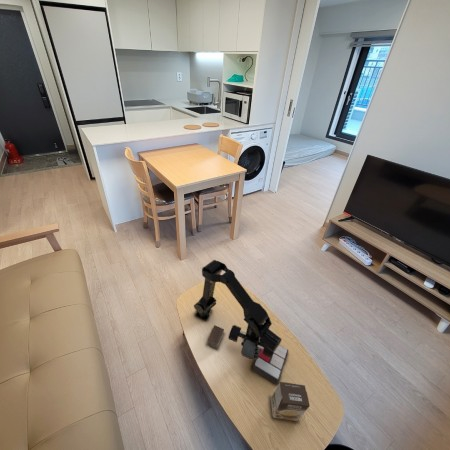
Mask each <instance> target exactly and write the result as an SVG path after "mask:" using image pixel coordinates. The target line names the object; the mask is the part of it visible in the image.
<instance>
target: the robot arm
mask: <svg viewBox="0 0 450 450" xmlns="http://www.w3.org/2000/svg"><path fill="white" fill-rule="evenodd" d="M222 271H223V272H224V273H223V274H222ZM201 276H202V277H203V278H204V283H203V290H202V296H201V297H200V299H199V300H198V301H197V302H196V303H194V305H193V308H194V310H195V311H196V313H195V317H197V318H199V319H201V320H203V321H208V319H209V318H210V316H211V314H212V308H214V307H215V306H216V305H217V302H218V301H217V299H216V298H215V297H214V293H215V288H216V287H215V286H216V283H221V284H223V285H225V286H226V288H227V289H228V290H229V292H230V293H231V294H232V296H233V297H234V299H235V300H236V302H237V303H238V304H239V305H240V307H241V308H242V311H243V316H244V318H243V321H244V322H245V323H247V327H246V331H245V332H244V331H242V327H241V326H238V325H236V324H233V325H231V329H230V331H229V332H228V333H229V334H228V340H230V341H232V342H233V343H237V342H238V339H239V338H241V343H240V344H241V346H242V348H241V351H240V353H241V356H242V357H245V358H247V359H248V360H254V361H255V360H256V359H258V357H259V354H260V351H259V350H260V348H261V349H264V350H263V354H264V355H265V356H268V357H270V358H271V357H272V356H273V353H274V351H275V350H276V349H277V347H278V346H279V345H280V344H281V342H282V338H281V337H280V336H278V335H277V334H276V333H275V332H274V331H272V330H271V329H270V327H271V326H272V325H273V323H272V321H271V318H270V316H269V314H268V312H267V310H266V309H265V308H264V307H263V306H262V305H261V304H260V303H258V302H256V301H254V299H252V297H251V296H250V294H249V293H248V292H247V291H246V289H245V288H244V286H243V285H242V284H241V282H240V281H239V280H238V279H237V277H236V274H235V272H234V271H233V270H231V269H229V268H228V266H227V264H225V263H223V262H221V261H219V260H216V259H213V260H211V261H210V262H208V263H207V264H206V265H204V266H203V267H202V268H201Z"/></svg>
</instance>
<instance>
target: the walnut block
mask: <svg viewBox="0 0 450 450" xmlns="http://www.w3.org/2000/svg"><path fill="white" fill-rule="evenodd" d="M224 333H225V329H224V328H222V327H220V326H217V325H216V324H214V325H213V327H212V329H211V331H210V333H209V335H208V338H207V346H209V347H211V348H214V349H215V350H218V348H219V346H220V343H221V341H222V339H223V337H224Z"/></svg>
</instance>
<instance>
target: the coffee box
mask: <svg viewBox="0 0 450 450" xmlns="http://www.w3.org/2000/svg"><path fill="white" fill-rule="evenodd" d="M270 405H271V413H272V418H274V419H281V420H287V421H294V422H297V421H299V419H300V418H301V417H302V416H303V415H304V414H305V413H306V412H307V410H308V409H309V408H310V400H309V396H308V392H307V388H306V385H305V384H299V383H298V384H297V383H292V382H284V381H278V383H277V386H276V388H275V390H274V391H273V394H272V395H271V396H270Z"/></svg>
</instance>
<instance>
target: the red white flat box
mask: <svg viewBox="0 0 450 450" xmlns="http://www.w3.org/2000/svg"><path fill="white" fill-rule="evenodd" d="M263 350H264V349H261V348H259V351H260V354H259V357H258V359H255V360H254V361H253V365H252V369H251V370H252V371H253V372H255V373H257V374H259V375H260V376H262V377H263V378H265V379H267V380H268V381H270V382H271V383H273V384H275V385H278V384H279V382H280V378H281V375H282V373H283V369H284V366H285V363H286V361H287V360H286V359H287V357H288V354H289V349H288V348H286V347H285V346H282V345H280V344H279V346H278V347H277V349H276V350H275V351H274V353H273V356H272V357H271V358H270V357H268V356H265V355H264V354H263Z"/></svg>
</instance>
